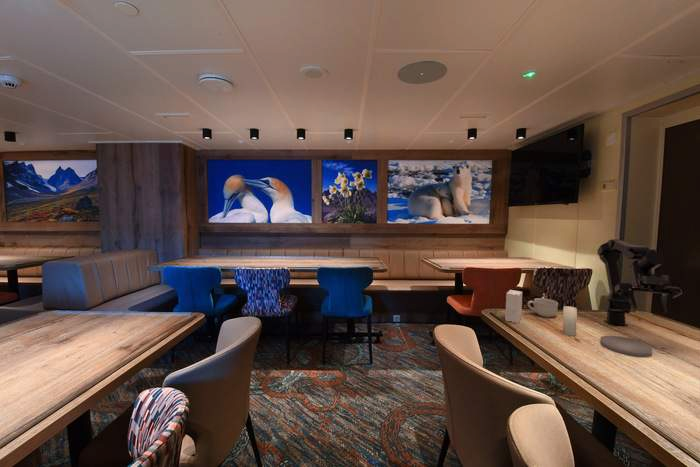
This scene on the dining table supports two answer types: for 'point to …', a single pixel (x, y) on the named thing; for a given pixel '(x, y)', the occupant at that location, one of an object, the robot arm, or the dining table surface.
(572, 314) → the canister
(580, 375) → the dining table surface
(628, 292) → the robot arm
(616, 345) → the grey-brown round disc
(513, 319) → the skincare box
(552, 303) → the teacup
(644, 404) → the dining table surface
